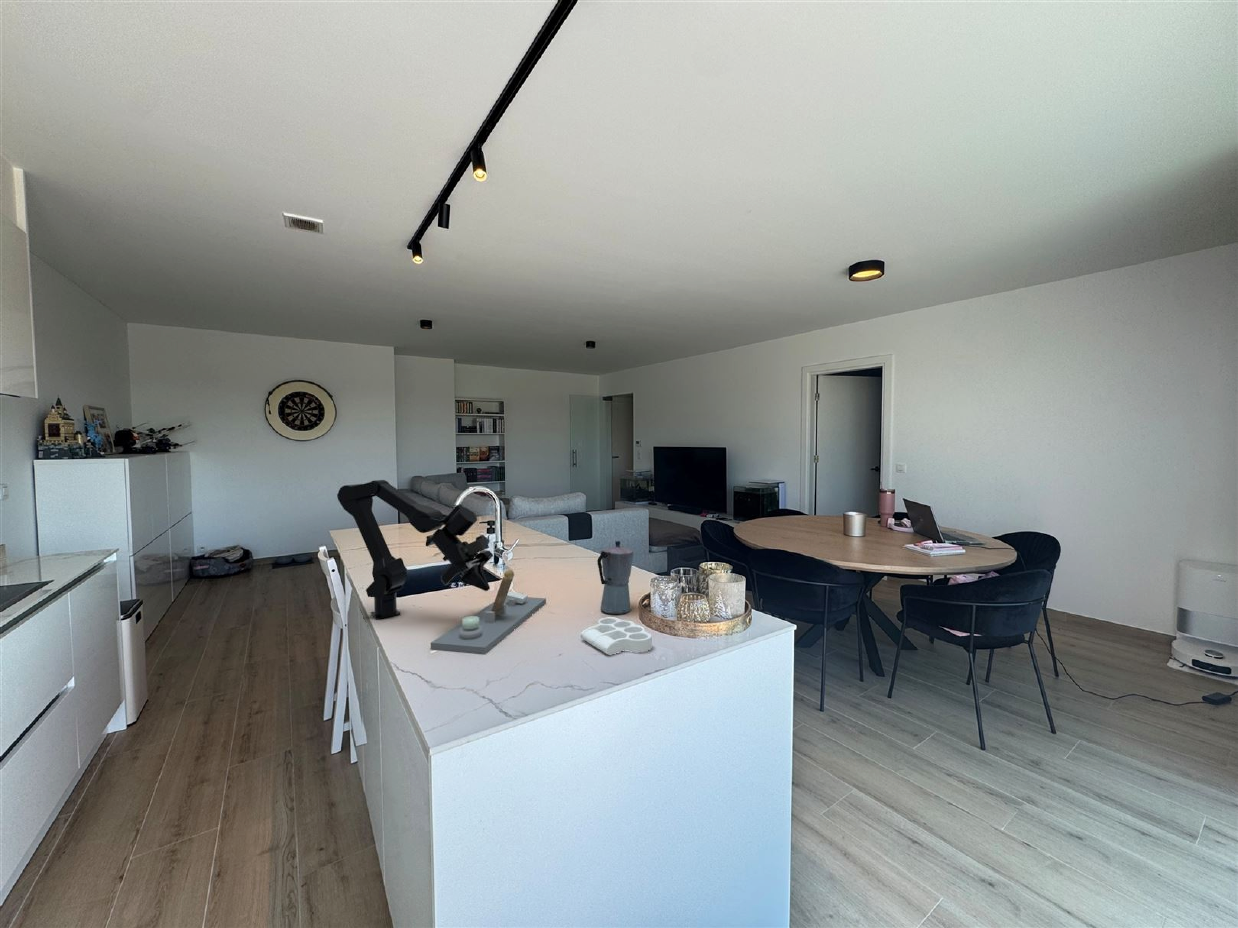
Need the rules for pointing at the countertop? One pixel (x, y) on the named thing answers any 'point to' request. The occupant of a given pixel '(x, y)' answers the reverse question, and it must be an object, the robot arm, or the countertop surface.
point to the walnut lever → (502, 592)
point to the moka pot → (615, 578)
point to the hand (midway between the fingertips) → (488, 589)
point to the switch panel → (488, 627)
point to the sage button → (470, 622)
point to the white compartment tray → (617, 636)
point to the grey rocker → (517, 597)
